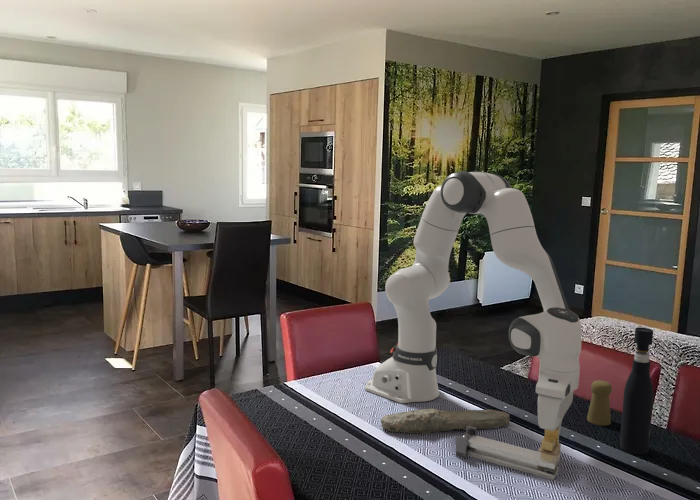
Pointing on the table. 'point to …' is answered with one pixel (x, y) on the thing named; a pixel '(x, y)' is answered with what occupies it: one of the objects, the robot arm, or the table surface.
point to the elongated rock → (443, 420)
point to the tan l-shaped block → (550, 440)
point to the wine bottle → (638, 398)
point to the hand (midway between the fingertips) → (555, 433)
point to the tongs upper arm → (512, 451)
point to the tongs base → (499, 458)
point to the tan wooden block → (555, 451)
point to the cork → (600, 403)
